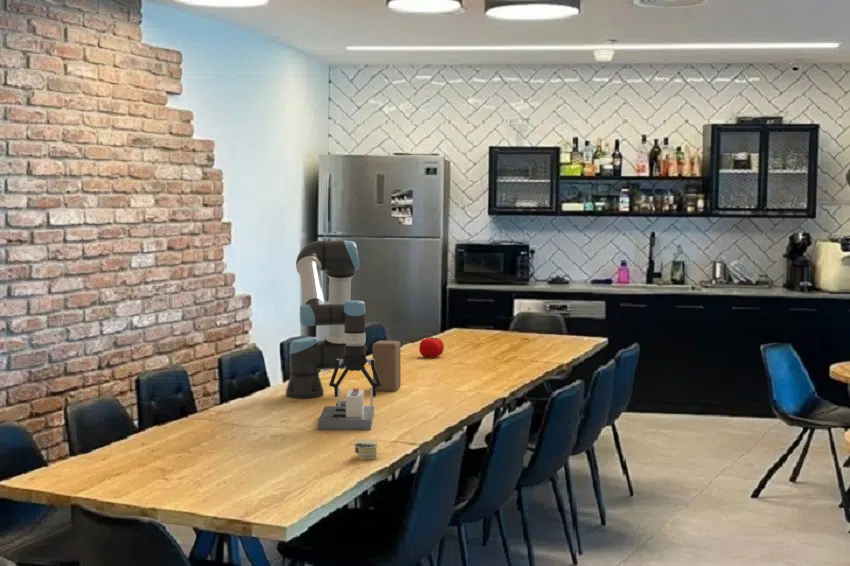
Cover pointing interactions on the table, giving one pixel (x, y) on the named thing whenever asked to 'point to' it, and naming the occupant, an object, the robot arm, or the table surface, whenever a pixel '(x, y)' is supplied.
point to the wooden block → (387, 365)
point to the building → (365, 448)
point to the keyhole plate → (345, 419)
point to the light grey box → (355, 403)
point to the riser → (343, 403)
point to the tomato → (431, 347)
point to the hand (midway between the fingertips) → (355, 405)
